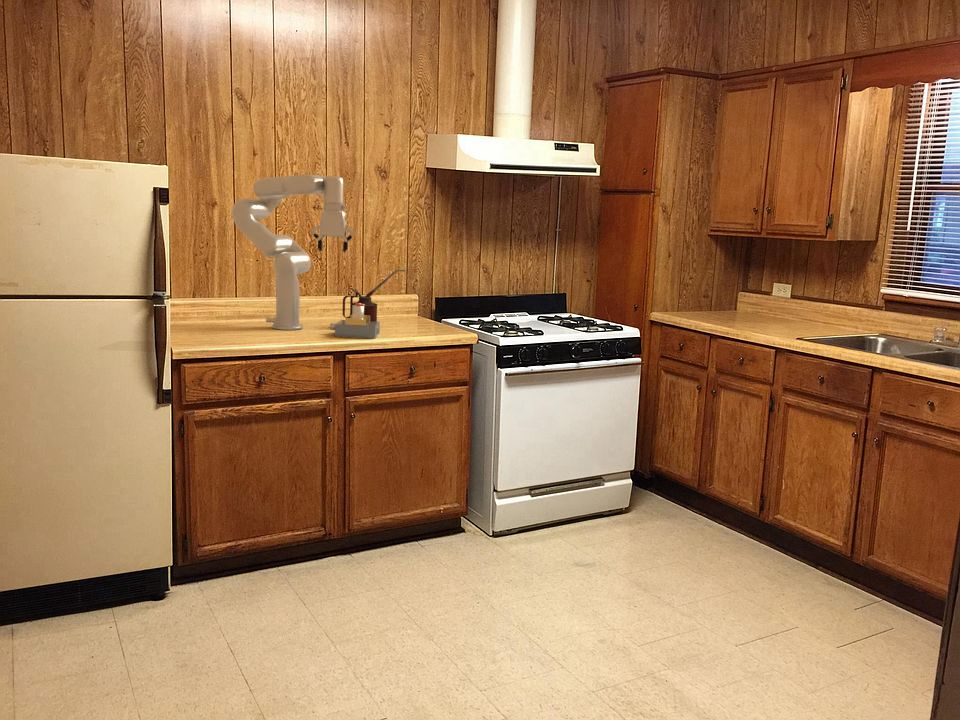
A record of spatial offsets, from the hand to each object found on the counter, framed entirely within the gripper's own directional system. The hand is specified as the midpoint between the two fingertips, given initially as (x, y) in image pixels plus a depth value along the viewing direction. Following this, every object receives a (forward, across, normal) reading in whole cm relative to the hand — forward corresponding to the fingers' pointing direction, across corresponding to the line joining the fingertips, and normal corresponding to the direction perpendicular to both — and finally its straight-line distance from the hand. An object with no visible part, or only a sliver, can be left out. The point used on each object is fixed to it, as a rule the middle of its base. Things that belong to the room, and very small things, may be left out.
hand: (332, 251), depth 337 cm
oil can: (+34, -14, -24) cm, 44 cm away
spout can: (+32, -11, +2) cm, 34 cm away
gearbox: (+33, -9, +2) cm, 35 cm away
